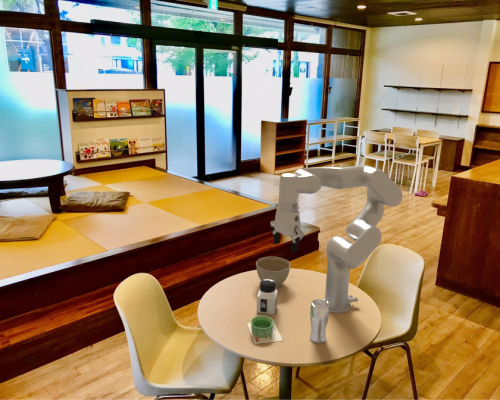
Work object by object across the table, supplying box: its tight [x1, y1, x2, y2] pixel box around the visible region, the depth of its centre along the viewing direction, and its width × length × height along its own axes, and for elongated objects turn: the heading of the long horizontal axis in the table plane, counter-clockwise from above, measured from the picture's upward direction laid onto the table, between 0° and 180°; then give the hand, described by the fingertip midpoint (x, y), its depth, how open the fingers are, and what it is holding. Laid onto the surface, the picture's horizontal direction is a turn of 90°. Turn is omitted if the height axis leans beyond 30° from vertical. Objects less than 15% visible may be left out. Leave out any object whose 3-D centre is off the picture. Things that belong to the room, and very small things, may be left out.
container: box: [256, 279, 279, 315], centre depth 178 cm, size 8×8×13 cm
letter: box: [246, 319, 284, 345], centre depth 164 cm, size 11×14×1 cm
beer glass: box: [309, 298, 330, 344], centre depth 158 cm, size 7×7×15 cm
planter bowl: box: [255, 256, 291, 289], centre depth 200 cm, size 16×16×11 cm
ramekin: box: [250, 315, 275, 337], centre depth 163 cm, size 9×9×4 cm
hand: (285, 247), depth 165 cm, fingers open, 9 cm apart
